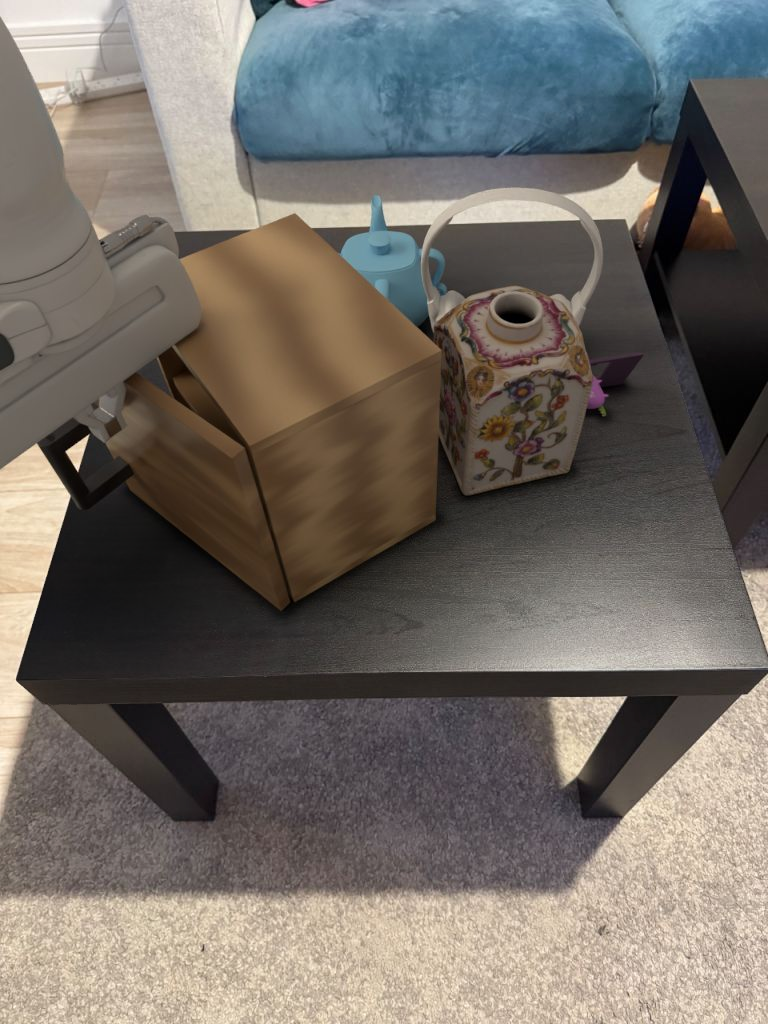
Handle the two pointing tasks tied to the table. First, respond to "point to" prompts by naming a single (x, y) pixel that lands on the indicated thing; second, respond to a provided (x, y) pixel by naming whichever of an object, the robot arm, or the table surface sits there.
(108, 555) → the table surface
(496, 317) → the decorative jar
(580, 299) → the headphones
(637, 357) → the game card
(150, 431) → the door
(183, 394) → the cupboard
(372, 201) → the teapot
